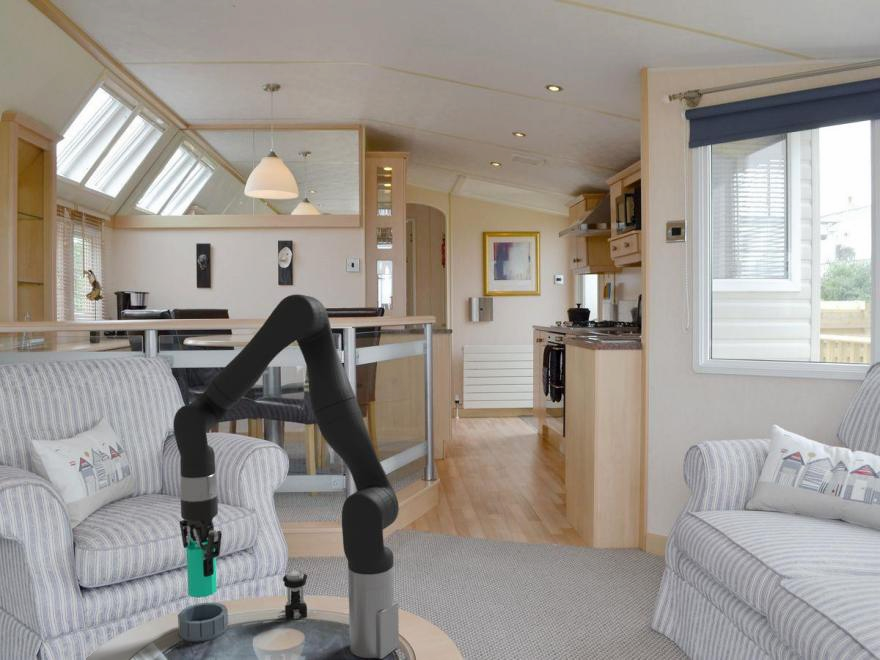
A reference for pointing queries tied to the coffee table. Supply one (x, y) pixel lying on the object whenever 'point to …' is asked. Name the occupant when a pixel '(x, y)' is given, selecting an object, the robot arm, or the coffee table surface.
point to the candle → (199, 573)
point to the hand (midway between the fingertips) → (201, 571)
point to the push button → (294, 595)
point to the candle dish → (202, 622)
